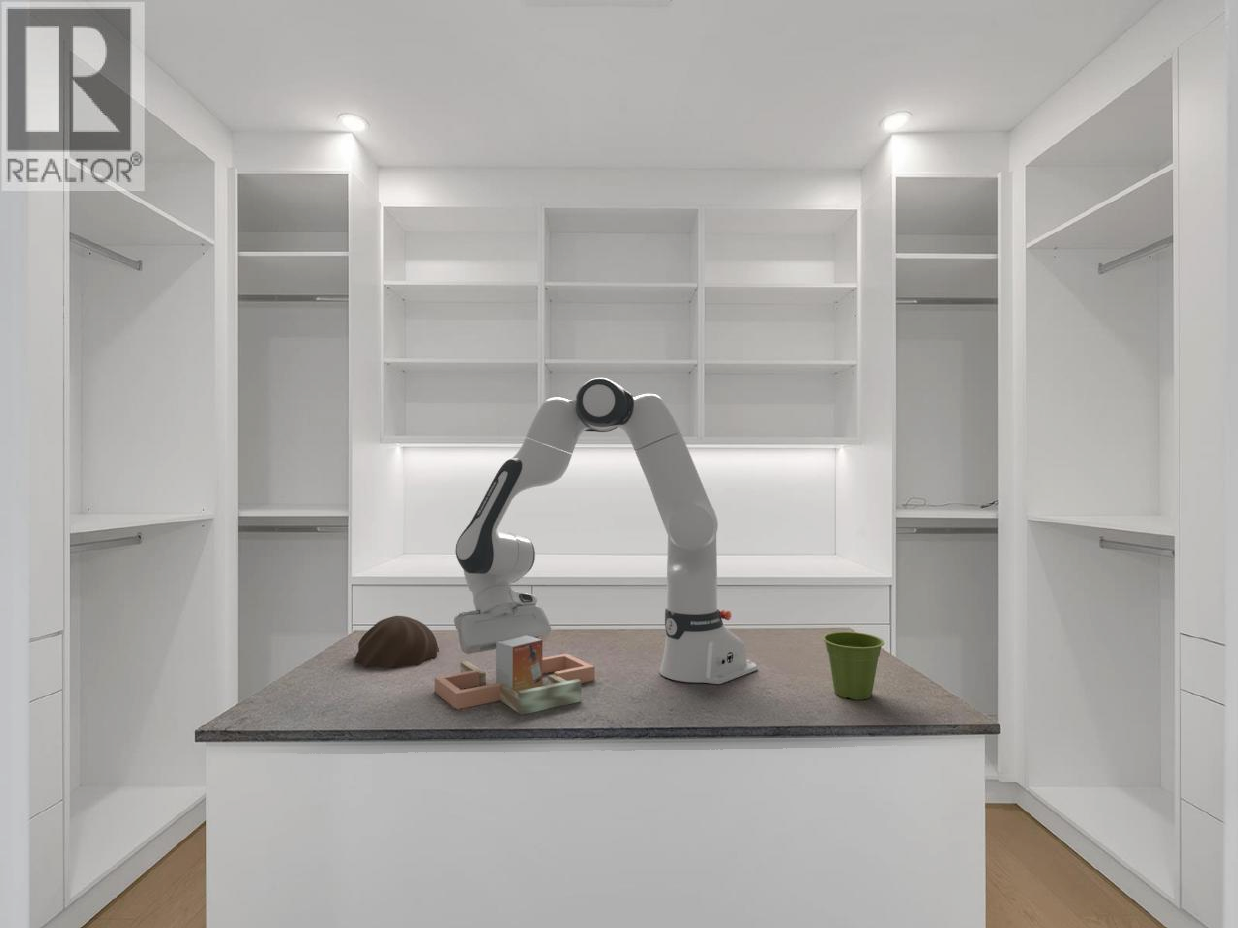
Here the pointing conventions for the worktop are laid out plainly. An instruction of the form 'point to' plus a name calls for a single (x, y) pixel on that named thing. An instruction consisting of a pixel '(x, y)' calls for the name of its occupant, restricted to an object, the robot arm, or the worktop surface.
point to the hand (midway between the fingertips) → (516, 662)
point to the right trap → (568, 668)
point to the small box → (519, 663)
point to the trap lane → (534, 692)
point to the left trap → (465, 698)
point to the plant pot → (853, 662)
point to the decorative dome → (396, 644)
